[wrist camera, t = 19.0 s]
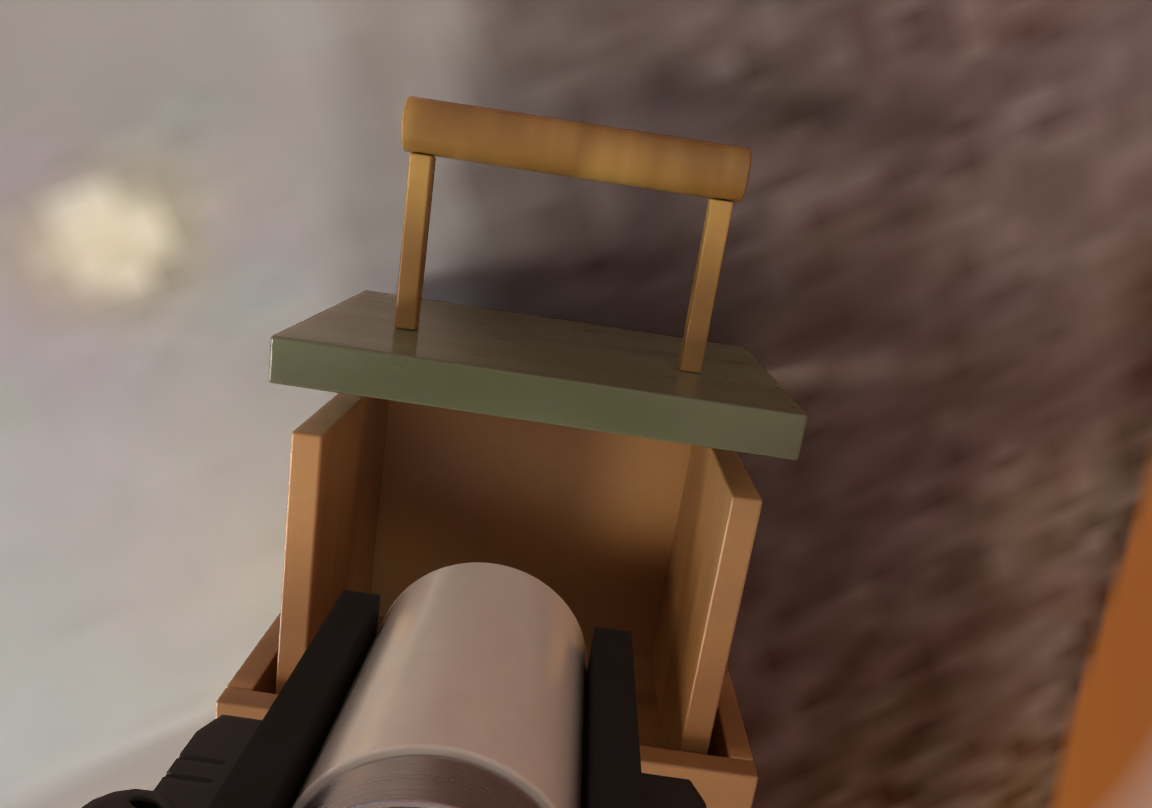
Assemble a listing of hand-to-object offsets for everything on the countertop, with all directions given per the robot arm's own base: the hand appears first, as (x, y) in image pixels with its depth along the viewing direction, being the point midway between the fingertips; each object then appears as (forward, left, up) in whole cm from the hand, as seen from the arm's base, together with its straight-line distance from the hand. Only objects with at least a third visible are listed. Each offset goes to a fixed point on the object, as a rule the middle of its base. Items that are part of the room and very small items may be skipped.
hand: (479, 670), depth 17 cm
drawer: (-2, +1, -13) cm, 13 cm away
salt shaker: (0, 0, 0) cm, 0 cm away
